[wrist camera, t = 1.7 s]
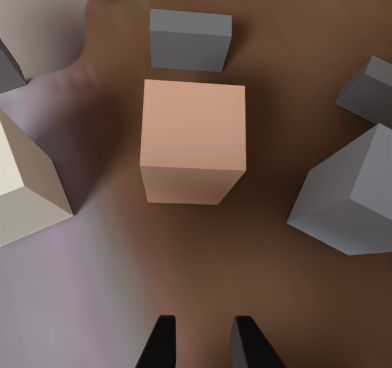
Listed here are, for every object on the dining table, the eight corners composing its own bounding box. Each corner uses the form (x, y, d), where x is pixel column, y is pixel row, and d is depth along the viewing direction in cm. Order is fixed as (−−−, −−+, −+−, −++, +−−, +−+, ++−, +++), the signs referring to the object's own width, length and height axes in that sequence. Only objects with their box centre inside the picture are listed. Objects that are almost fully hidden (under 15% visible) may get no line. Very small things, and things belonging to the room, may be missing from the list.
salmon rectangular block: (217, 204, 23) (246, 170, 15) (147, 202, 22) (139, 165, 15) (218, 146, 24) (244, 85, 16) (150, 143, 23) (144, 79, 16)
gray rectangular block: (348, 255, 23) (444, 247, 15) (286, 223, 23) (349, 198, 15) (368, 201, 24) (468, 168, 16) (309, 171, 24) (379, 123, 16)
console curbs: (395, 66, 27) (435, 31, 23) (405, 135, 25) (448, 110, 22) (-45, 34, 24) (-84, -11, 20) (-61, 109, 23) (-107, 76, 19)
